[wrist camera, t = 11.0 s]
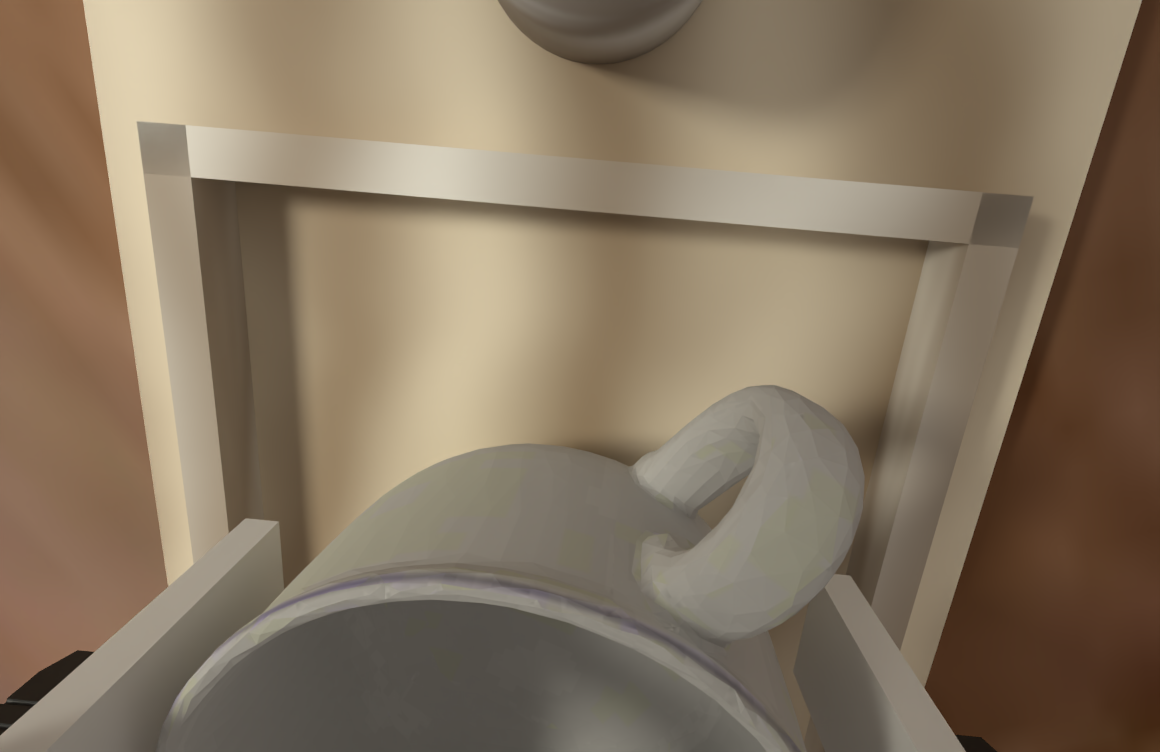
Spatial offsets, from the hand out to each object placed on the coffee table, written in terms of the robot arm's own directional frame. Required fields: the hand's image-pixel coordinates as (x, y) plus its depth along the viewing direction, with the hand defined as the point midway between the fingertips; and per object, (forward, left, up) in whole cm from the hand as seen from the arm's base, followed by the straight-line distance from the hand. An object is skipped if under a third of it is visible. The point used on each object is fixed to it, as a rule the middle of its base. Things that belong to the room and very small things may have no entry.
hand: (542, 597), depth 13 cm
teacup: (+1, 0, -3) cm, 3 cm away
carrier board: (0, +4, -4) cm, 6 cm away
